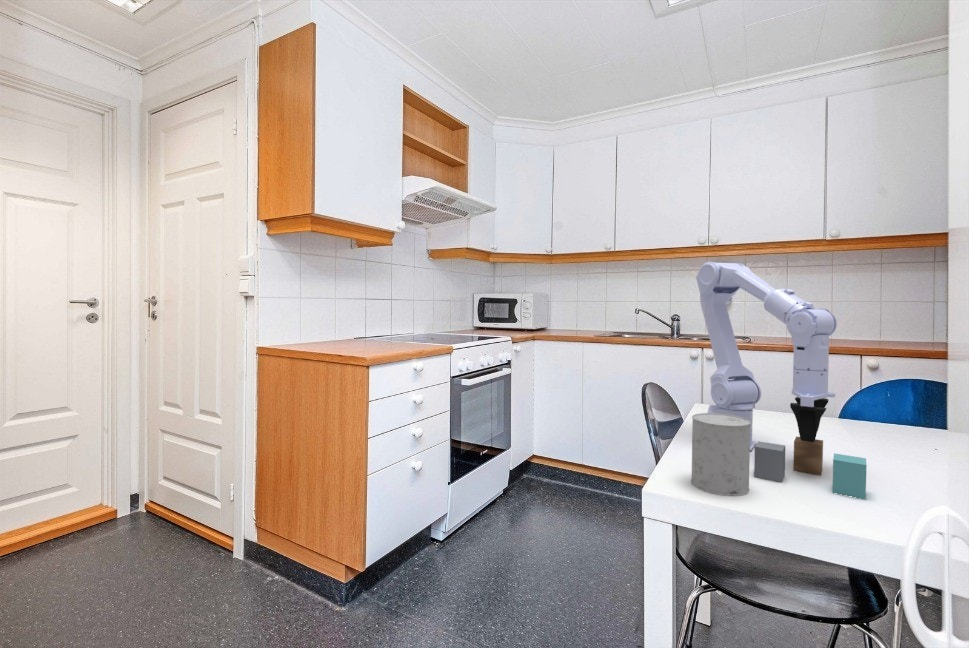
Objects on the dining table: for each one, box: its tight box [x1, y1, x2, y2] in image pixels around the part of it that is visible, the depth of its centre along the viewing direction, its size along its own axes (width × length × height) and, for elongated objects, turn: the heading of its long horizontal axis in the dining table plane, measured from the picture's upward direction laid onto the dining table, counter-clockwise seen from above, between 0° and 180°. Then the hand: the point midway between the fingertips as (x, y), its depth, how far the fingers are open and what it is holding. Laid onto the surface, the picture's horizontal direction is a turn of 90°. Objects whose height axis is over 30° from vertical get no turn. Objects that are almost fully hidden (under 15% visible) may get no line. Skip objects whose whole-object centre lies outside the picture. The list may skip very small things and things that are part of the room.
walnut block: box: [792, 436, 824, 477], centre depth 92 cm, size 4×4×6 cm
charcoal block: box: [753, 441, 786, 484], centre depth 88 cm, size 4×4×6 cm
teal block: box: [831, 453, 868, 500], centre depth 81 cm, size 4×4×6 cm
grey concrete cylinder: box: [690, 412, 751, 497], centre depth 84 cm, size 10×10×12 cm
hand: (809, 436), depth 92 cm, fingers open, 7 cm apart
